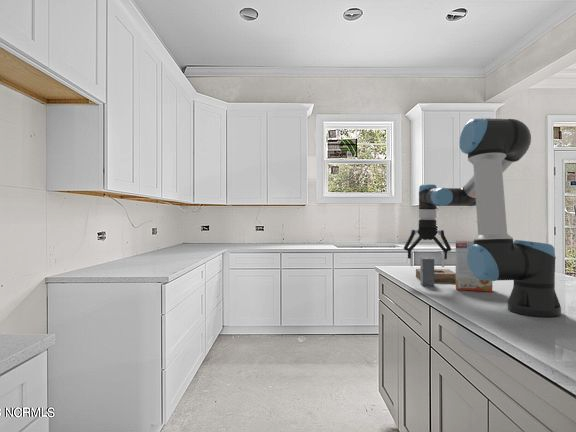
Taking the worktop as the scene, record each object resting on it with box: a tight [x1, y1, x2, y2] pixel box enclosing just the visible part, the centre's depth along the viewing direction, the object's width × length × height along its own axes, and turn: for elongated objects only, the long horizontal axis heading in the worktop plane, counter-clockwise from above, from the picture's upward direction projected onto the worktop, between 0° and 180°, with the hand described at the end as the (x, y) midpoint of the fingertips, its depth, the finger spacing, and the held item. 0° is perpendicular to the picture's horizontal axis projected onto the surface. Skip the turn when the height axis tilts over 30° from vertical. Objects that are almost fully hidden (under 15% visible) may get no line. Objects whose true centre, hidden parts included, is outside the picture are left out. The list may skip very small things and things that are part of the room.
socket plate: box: [415, 268, 456, 284], centre depth 195 cm, size 16×16×4 cm
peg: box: [419, 257, 435, 287], centre depth 181 cm, size 5×5×12 cm
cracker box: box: [455, 239, 493, 293], centre depth 170 cm, size 14×6×21 cm, turn 68°
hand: (426, 266), depth 182 cm, fingers open, 13 cm apart
